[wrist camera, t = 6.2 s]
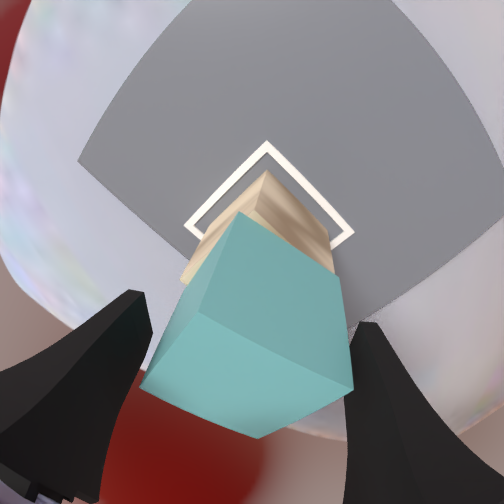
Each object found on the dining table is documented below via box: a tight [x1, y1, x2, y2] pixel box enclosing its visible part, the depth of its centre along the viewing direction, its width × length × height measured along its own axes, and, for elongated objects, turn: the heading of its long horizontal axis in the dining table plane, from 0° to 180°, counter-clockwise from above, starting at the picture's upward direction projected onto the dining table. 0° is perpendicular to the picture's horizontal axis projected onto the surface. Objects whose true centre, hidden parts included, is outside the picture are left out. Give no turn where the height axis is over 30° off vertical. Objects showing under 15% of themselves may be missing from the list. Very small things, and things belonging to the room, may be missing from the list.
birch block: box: [180, 170, 335, 286], centre depth 14 cm, size 4×4×5 cm
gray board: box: [78, 0, 504, 329], centre depth 14 cm, size 20×18×1 cm
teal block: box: [139, 211, 354, 439], centre depth 10 cm, size 4×4×5 cm
